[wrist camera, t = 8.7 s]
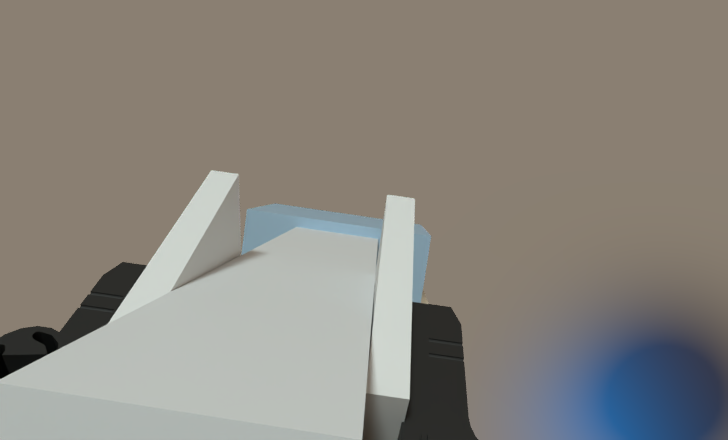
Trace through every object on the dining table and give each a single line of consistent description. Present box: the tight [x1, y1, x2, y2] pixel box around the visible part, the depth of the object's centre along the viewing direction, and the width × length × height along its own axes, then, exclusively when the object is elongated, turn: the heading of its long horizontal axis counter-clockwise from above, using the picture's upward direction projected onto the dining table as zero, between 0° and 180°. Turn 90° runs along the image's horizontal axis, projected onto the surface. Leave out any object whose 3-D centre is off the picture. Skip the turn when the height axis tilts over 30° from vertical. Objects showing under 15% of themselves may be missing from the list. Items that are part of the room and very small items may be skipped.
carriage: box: [0, 204, 431, 440], centre depth 20 cm, size 28×9×4 cm, turn 178°
